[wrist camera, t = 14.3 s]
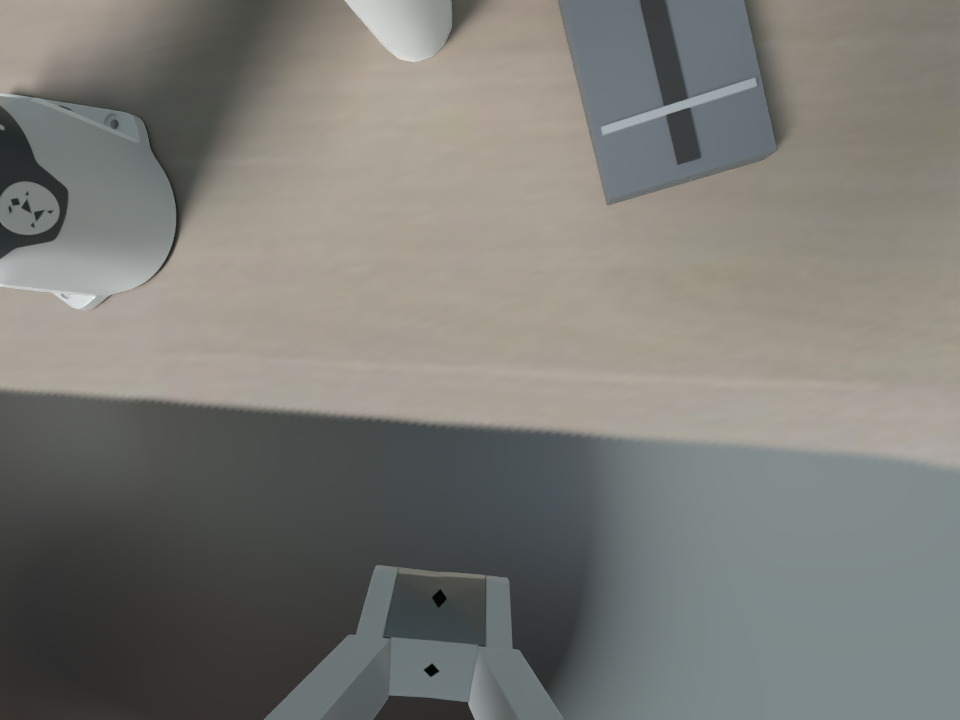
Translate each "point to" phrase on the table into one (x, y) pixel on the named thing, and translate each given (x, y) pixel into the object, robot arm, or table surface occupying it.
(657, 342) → the table surface
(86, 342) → the table surface
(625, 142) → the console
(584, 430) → the table surface
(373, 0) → the foam cup
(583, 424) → the table surface
